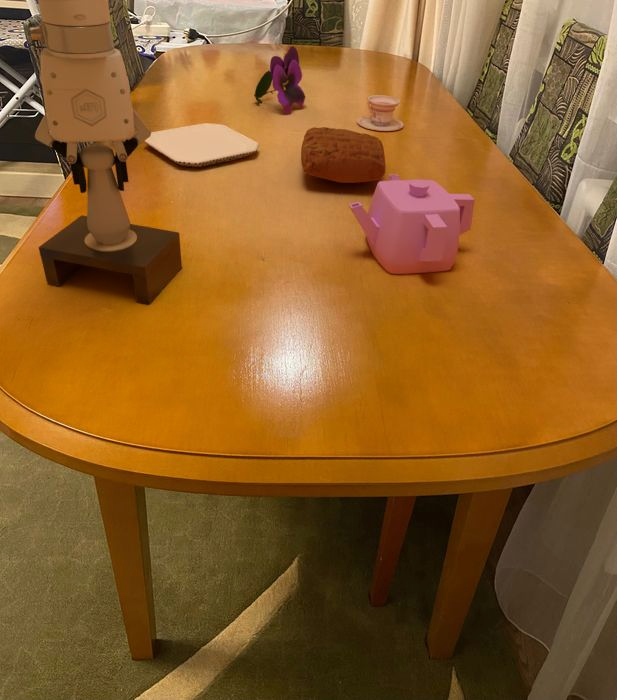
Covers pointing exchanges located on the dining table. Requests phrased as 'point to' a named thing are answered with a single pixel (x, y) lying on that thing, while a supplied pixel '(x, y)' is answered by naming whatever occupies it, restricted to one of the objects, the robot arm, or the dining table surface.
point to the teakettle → (414, 225)
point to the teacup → (381, 114)
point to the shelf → (115, 256)
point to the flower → (283, 81)
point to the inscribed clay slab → (342, 155)
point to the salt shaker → (104, 197)
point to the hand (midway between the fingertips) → (102, 186)
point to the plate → (202, 144)
